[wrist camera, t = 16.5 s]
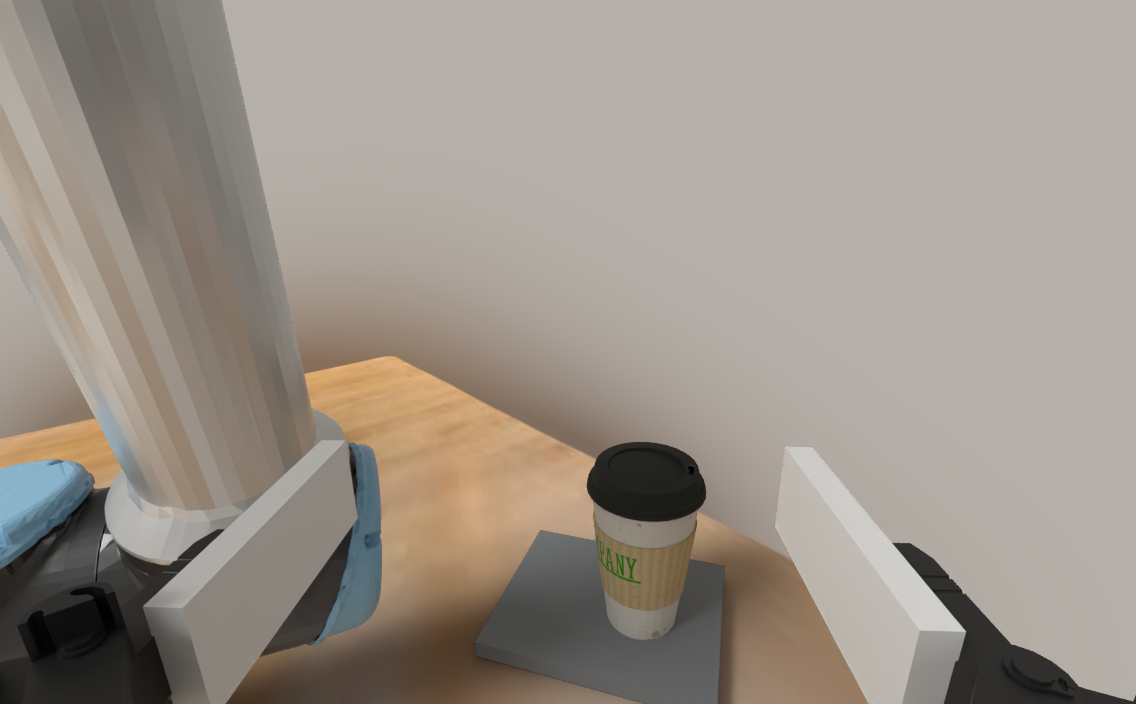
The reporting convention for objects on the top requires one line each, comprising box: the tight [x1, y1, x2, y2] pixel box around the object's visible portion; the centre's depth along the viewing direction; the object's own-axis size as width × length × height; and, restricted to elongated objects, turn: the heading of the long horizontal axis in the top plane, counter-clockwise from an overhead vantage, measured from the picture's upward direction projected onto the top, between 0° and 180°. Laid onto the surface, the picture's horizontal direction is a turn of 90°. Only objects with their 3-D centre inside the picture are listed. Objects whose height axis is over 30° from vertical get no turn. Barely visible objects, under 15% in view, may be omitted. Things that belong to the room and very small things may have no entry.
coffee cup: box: [587, 442, 706, 640], centre depth 45 cm, size 10×10×15 cm
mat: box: [475, 530, 724, 704], centre depth 49 cm, size 20×16×2 cm
